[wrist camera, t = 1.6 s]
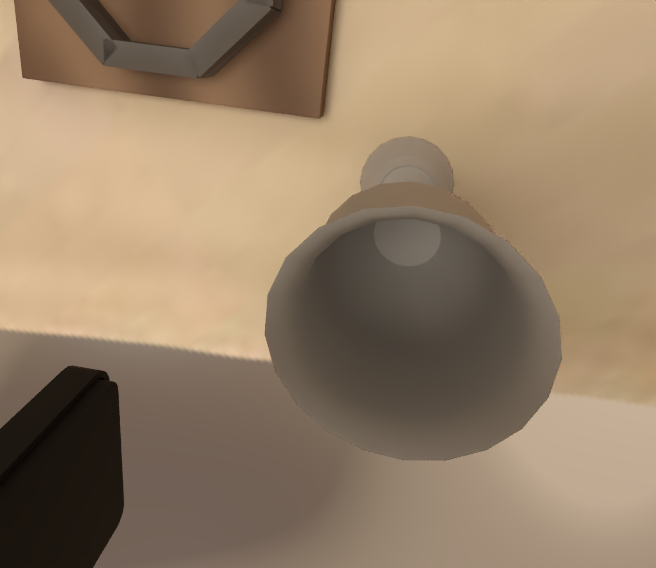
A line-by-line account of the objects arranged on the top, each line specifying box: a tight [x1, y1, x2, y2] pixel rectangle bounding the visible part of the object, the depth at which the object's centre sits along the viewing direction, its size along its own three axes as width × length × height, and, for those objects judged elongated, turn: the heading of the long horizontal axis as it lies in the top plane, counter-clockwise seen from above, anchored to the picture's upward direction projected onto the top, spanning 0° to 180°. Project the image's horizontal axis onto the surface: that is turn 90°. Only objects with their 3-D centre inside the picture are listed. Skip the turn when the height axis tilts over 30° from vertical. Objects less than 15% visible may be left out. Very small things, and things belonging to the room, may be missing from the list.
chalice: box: [265, 137, 562, 460], centre depth 21 cm, size 7×7×18 cm
